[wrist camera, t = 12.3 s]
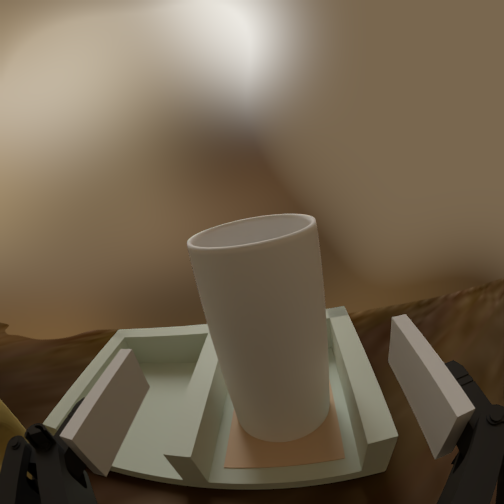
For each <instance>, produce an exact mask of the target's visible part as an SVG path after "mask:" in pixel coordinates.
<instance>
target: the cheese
mask: <svg viewBox="0 0 504 504" xmlns="http://www.w3.org/2000/svg"><path fill="white" fill-rule="evenodd" d="M25 432H26V430H25V428H24V427H23V426H22V424H21V423H20V422H19V421H18V419H17V418H16V417H15V416H14V415H13V414H12V412H11V411H10V410H9V409H8V408H7V406H6V405H5V404H4V403H3V402H2V401H1V400H0V471H1V467H2V462H3V458H4V454H5V450H6V447H7V444H8V442H9V440H10V439H11V438H12V437H14V436H17V435H19V436H22V437H24V435H25ZM24 438H25V437H24ZM25 440H26V441H27V439H26V438H25ZM27 442H28V441H27ZM28 443H29V442H28ZM27 477H28V478H29V479H32V475H31V474H30V473H29V472H28V471H27Z"/></svg>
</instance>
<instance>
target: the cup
mask: <svg viewBox="0 0 504 504" xmlns="http://www.w3.org/2000/svg"><path fill="white" fill-rule="evenodd" d="M187 247H188V252H189V256H190V260H191V264H192V269H193V272H194V277H195V280H196V284H197V288H198V292H199V296H200V299H201V303H202V307H203V310H204V314H205V317H206V321H207V324H208V328H209V331H210V335H211V338H212V341H213V345H214V348H215V351H216V355H217V358H218V361H219V364H220V367H221V371H222V374H223V377H224V380H225V383H226V386H227V389H228V392H229V395H230V398H231V401H232V404H233V407H234V410H235V412H236V415H237V418H238V421H239V423H240V425H241V427H242V428H243V429H244V430H245V431H246V432H247V433H248V434H250V435H251V436H253V437H255V438H257V439H260V440H263V441H268V442H288V441H293V440H297V439H300V438H302V437H305V436H307V435H308V434H310V433H312V432H313V431H315V430H316V429H317V428H318V427H319V426H320V425H321V424H322V423H323V422H324V420H325V419H326V417H327V415H328V412H329V407H330V392H329V359H328V339H327V322H326V308H325V296H324V285H323V274H322V264H321V254H320V246H319V237H318V230H317V224H316V220H315V218H314V217H312V216H309V215H304V214H276V215H266V216H259V217H253V218H247V219H242V220H238V221H233V222H229V223H226V224H222V225H218V226H215V227H212V228H209V229H207V230H204V231H202V232H200V233H197V234H196V235H194V236H192V237H191V238H190V239H189V240H188V241H187Z"/></svg>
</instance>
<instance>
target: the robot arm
mask: <svg viewBox="0 0 504 504" xmlns="http://www.w3.org/2000/svg"><path fill="white" fill-rule="evenodd" d="M388 362H389V364H390V366H391V368H392V370H393V372H394V374H395V376H396V378H397V380H398V382H399V384H400V386H401V388H402V390H403V392H404V394H405V396H406V398H407V400H408V402H409V404H410V406H411V408H412V410H413V412H414V414H415V416H416V418H417V421H418V423H419V425H420V427H421V429H422V431H423V434H424V436H425V438H426V440H427V443H428V445H429V447H430V450H431V452H432V454H433V457H434V459H438V458H440V457H442V456H445V455H447V454H449V453H451V452H452V451H453V449H454V447H455V446H456V445H457V447H458V449H459V452H458V454H457V455H456V457H455V458H454V460H453V462H452V463H451V464H454V465H453V468H452V470H451V473H450V475H449V478H448V480H447V482H446V485H445V487H444V489H443V492H442V494H441V496H440V498H439V500H438V502H437V504H490V501H491V498H492V495H493V492H494V489H495V486H496V482H497V479H498V483H497V496H496V504H504V407H503V406H500V405H497V404H496V405H492V404H491V403H490V402H489V400H488V399H487V397H486V396H485V395H484V393H483V392H482V391H481V389H480V388H479V386H478V385H477V384H476V382H475V381H473V379H472V377H471V376H470V375H469V373H468V372H467V371H466V369H465V368H464V367H463V366H462V365H460V364H459V363H457V362H455V361H454V360H453V361H450V362H448V363H445V364H444V363H443V361H442V360H441V359H440V357H439V356H438V355H437V353H436V352H435V351H434V349H433V348H432V347H431V345H430V344H429V343H428V342H427V340H426V339H425V338H424V336H423V335H422V334H421V333H420V331H419V330H418V329H417V328H416V326H415V325H414V324H413V323H412V321H411V320H410V319H409V318H408V316H407V315H406V314H404V315H400V316H396V317H392V323H391V337H390V348H389V358H388ZM149 388H150V386H149V384H148V382H147V380H146V378H145V376H144V374H143V372H142V370H141V367H140V365H139V363H138V361H137V359H136V357H135V354H134V352H133V350H132V349H120V351H119V352H118V353H117V355H116V356H115V357H114V359H113V360H112V361H111V363H110V364H109V365H108V367H107V368H106V370H105V371H104V372H103V374H102V375H101V376H100V378H99V379H98V381H97V382H96V383H95V385H94V386H93V388H92V389H91V390H90V392H89V393H88V395H87V396H86V397H83V398H82V399H81V400H80V401H78V402H77V403H76V404H75V406H74V407H73V409H72V410H71V412H70V413H69V414H68V417H66V419H65V420H64V421H63V423H62V424H61V426H60V427H59V429H58V430H57V432H56V433H55V435H54V436H53V435H52V434H51V433H50V432H49V431H48V429H47V428H46V427H45V426H44V425H43V424H40V423H37V424H34V425H32V426H30V427H29V428H28V429H27V430H26V432H25V435H24V437H25V438H26V439H27V441H28V442H29V443H28V442H27V441H26V440H25V438H24V437H22V436H19V435H17V436H14V437H12V438H11V439H10V440H9V442H8V444H7V447H6V450H5V454H4V458H3V462H2V467H1V471H0V504H97V501H96V498H95V496H94V493H93V490H92V487H91V483H90V480H89V477H88V474H87V472H86V471H85V468H86V466H87V467H88V468H89V469H90V470H91V471H92V472H93V473H95V474H98V475H102V476H105V477H107V475H108V472H109V470H110V468H111V466H112V464H113V462H114V460H115V457H116V455H117V453H118V451H119V449H120V447H121V445H122V443H123V441H124V439H125V437H126V435H127V432H128V430H129V428H130V426H131V424H132V422H133V420H134V418H135V416H136V414H137V412H138V410H139V408H140V406H141V404H142V402H143V400H144V398H145V396H146V394H147V392H148V390H149ZM27 471H28V472H29V473H30V474H31V475H32V479H29V478H28V477H27Z"/></svg>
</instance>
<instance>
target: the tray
mask: <svg viewBox="0 0 504 504" xmlns="http://www.w3.org/2000/svg"><path fill="white" fill-rule="evenodd" d="M326 322H327V339H328V359H329V392H330V407H329V412H328V415H327V417H326V419H325V420H324V422H323V423H322V424H321V425H320V426H319V427H318V428H317V429H316V430H315V431H313V432H312V433H310V434H308V435H307V436H305V437H302V438H300V439H297V440H293V441H288V442H268V441H263V440H260V439H257V438H255V437H253V436H251V435H250V434H248V433H247V432H246V431H245V430H244V429H243V428H242V427H241V425H240V423H239V421H238V418H237V415H236V412H235V410H234V407H233V404H232V401H231V398H230V395H229V392H228V389H227V386H226V383H225V380H224V377H223V374H222V371H221V367H220V364H219V361H218V358H217V355H216V351H215V348H214V345H213V341H212V338H211V335H210V331H209V328H208V324H204V325H191V326H179V327H163V328H144V329H119V330H118V331H117V332H116V334H115V335H114V336H113V337H112V338H111V339H110V341H109V342H108V343H107V344H106V345H105V346H104V348H103V349H102V350H101V351H100V352H99V354H98V355H97V356H96V357H95V358H94V359H93V361H92V362H91V363H90V364H89V366H88V367H87V368H86V369H85V370H84V372H83V373H82V374H81V375H80V377H79V378H78V379H77V380H76V381H75V383H74V384H73V385H72V386H71V388H70V389H69V390H68V391H67V393H66V394H65V395H64V397H63V398H62V399H61V400H60V402H59V403H58V404H57V406H56V407H55V408H54V409H53V411H52V412H51V413H50V415H49V416H48V417H47V419H46V420H45V421H44V423H43V425H44V426H45V427H46V428H47V429H48V431H49V432H50V433H51V434H52V435H53V436H54V435H55V433H56V432H57V430H58V429H59V427H60V426H61V424H62V423H63V421H64V420H65V419H66V417H68V414H69V413H70V412H71V410H72V409H73V407H74V406H75V404H76V403H77V402H78V401H80V400H81V399H82V398H83V397H86V396H87V395H88V393H89V392H90V390H91V389H92V388H93V386H94V385H95V383H96V382H97V381H98V379H99V378H100V376H101V375H102V374H103V372H104V371H105V370H106V368H107V367H108V365H109V364H110V363H111V361H112V360H113V359H114V357H115V356H116V355H117V353H118V352H119V351H120V349H132V350H133V352H134V354H135V357H136V359H137V361H138V363H139V365H140V367H141V370H142V372H143V374H144V376H145V378H146V380H147V382H148V384H149V386H150V388H149V390H148V392H147V394H146V396H145V398H144V400H143V402H142V404H141V406H140V408H139V410H138V412H137V414H136V416H135V418H134V420H133V422H132V424H131V426H130V428H129V430H128V432H127V435H126V437H125V439H124V441H123V443H122V445H121V447H120V449H119V451H118V453H117V455H116V457H115V460H114V462H113V464H112V466H111V468H110V471H114V472H117V473H121V474H125V475H129V476H133V477H138V478H142V479H147V480H152V481H158V482H163V483H169V484H176V485H184V486H192V487H202V488H215V489H237V490H260V489H283V488H295V487H305V486H314V485H321V484H328V483H334V482H340V481H345V480H350V479H355V478H360V477H364V476H368V475H372V474H376V473H380V472H384V471H386V468H387V466H388V463H389V461H390V458H391V455H392V453H393V450H394V447H395V444H396V441H397V438H398V433H397V431H396V428H395V425H394V423H393V420H392V417H391V415H390V412H389V409H388V407H387V404H386V402H385V399H384V397H383V394H382V392H381V389H380V387H379V384H378V382H377V379H376V377H375V374H374V372H373V370H372V367H371V365H370V362H369V360H368V358H367V355H366V353H365V351H364V349H363V346H362V344H361V342H360V339H359V337H358V335H357V333H356V331H355V328H354V326H353V324H352V322H351V320H350V317H349V315H348V313H347V311H346V309H345V307H344V306H342V307H336V308H330V309H326Z"/></svg>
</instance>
